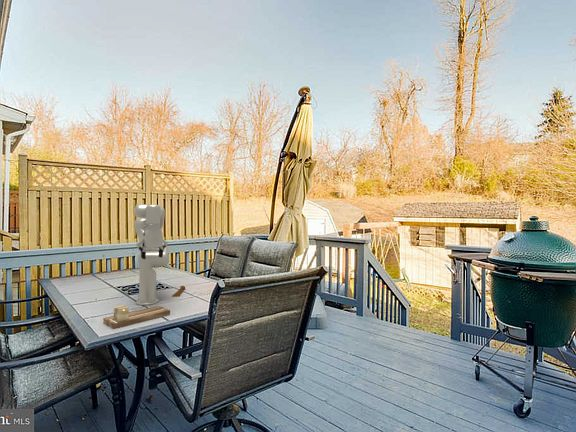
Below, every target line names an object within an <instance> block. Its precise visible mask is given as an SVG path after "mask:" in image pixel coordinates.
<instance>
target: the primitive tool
mask: <svg viewBox="0 0 576 432" xmlns="http://www.w3.org/2000/svg"><path fill="white" fill-rule="evenodd" d="M185 290H186V286H184V285H181V286H180V287H179V289H178V290H177V291H176V292H175V293H173V294H171V298H180V297H181V295H182V293H183V291H185Z"/></svg>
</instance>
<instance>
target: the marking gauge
mask: <svg viewBox="0 0 576 432" xmlns="http://www.w3.org/2000/svg"><path fill="white" fill-rule="evenodd" d="M129 312H130V307H129V306H127V305H126V304H123V305H119V306H113V316H114V320H116V321H118V322H119V321H123V320H127V319H129Z"/></svg>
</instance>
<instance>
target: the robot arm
mask: <svg viewBox="0 0 576 432" xmlns="http://www.w3.org/2000/svg"><path fill="white" fill-rule="evenodd" d="M165 212H166V211H165V208H164V207H163V206H162V205H159V204H145V203H143V204H141V203H140V204H139V203H137V204H136V205H135V207H134V216H135V218H136V219H135V220H134V223H133V224H134V231H135V234H136V236H137V237H138V240H139V242H137V243H136V244H135V245H136V247H137V249H138V250H139V251H140V252H139V254H138V255H137V256H138V257H137V258H138V259H137V260H138V268H139V276H138V277H139V278H138V280H139V282H138V284H139V287H138V288H139V289H138V300H136V301H135V304H136V305H138V306H150V305H156V304H158V303H159V299H158V298H157V271H156V270H155V269H154V268H153V267H164V266H167V265H168V264H169V263H170V255H169V250H168V242H167V241H166V240H165V239H164V237H163V230H162V229H163V227H164V223H165V217H166V215H165V214H166V213H165Z"/></svg>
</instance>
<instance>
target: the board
mask: <svg viewBox="0 0 576 432" xmlns="http://www.w3.org/2000/svg"><path fill="white" fill-rule="evenodd" d="M167 316H171V310H170V309H168V308H165V307H163V306H161V305H157V306H151V307H148V308H142V309H138V310H135V311H129V319H127V320H123V321H119V322H118V321H116V320H114V315H112V316H107V317H103V319H102V320H103V321H102V322H103V324H104V325H105V324H106V326H107V327H109V328H111V329H112V330H116V328H117V329H120V327H121V328H125V327H128V326H131V325H132V326H133V325H135V324H139V323H143V322H147V321H151V320H155V319H159V318H163V317H167Z"/></svg>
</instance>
